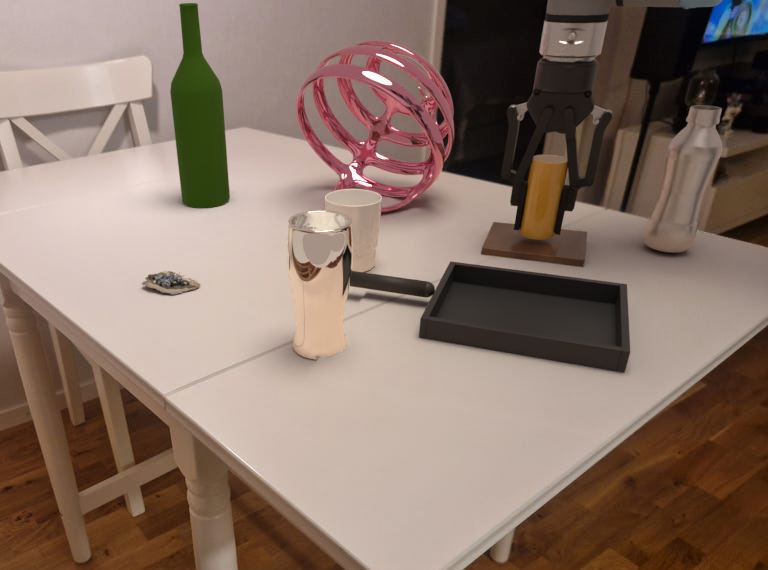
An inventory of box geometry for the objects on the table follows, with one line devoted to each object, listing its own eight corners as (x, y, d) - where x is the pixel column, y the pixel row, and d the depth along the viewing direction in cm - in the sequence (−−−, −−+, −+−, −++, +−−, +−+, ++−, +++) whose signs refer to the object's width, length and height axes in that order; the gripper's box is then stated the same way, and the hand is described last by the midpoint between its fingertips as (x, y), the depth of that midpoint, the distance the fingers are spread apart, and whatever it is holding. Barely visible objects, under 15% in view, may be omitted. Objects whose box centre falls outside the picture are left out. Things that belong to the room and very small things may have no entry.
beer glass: (301, 328, 79) (300, 206, 71) (357, 337, 77) (362, 212, 69) (280, 356, 74) (275, 227, 66) (339, 367, 71) (342, 235, 64)
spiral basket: (345, 115, 91) (436, -18, 97) (231, 135, 112) (312, 25, 119) (436, 247, 107) (508, 126, 114) (321, 243, 129) (388, 141, 135)
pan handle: (435, 294, 83) (437, 280, 82) (432, 301, 81) (433, 286, 80) (345, 281, 87) (345, 267, 86) (340, 287, 85) (340, 273, 84)
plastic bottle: (653, 238, 101) (691, 101, 91) (698, 250, 97) (744, 107, 87) (631, 248, 98) (668, 107, 88) (677, 261, 94) (722, 114, 83)
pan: (621, 305, 82) (627, 283, 81) (623, 376, 68) (630, 351, 67) (447, 281, 90) (450, 261, 88) (418, 341, 76) (420, 318, 74)
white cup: (348, 280, 91) (350, 209, 85) (313, 263, 96) (313, 196, 91) (390, 266, 95) (394, 198, 89) (353, 250, 100) (356, 185, 95)
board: (585, 240, 101) (587, 231, 100) (582, 270, 92) (584, 260, 91) (492, 230, 106) (493, 221, 105) (480, 257, 97) (481, 247, 96)
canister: (555, 230, 99) (570, 156, 93) (553, 241, 95) (568, 164, 89) (520, 226, 101) (533, 153, 95) (517, 237, 97) (529, 161, 91)
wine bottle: (238, 196, 125) (226, 1, 108) (212, 210, 118) (195, 5, 101) (199, 191, 128) (182, 1, 111) (172, 204, 121) (149, 5, 105)
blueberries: (153, 273, 94) (151, 261, 93) (207, 276, 93) (206, 263, 92) (136, 293, 88) (134, 280, 88) (193, 296, 87) (192, 283, 86)
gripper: (493, 59, 85) (471, 230, 98) (646, 63, 79) (603, 245, 91) (500, 52, 91) (479, 214, 103) (644, 56, 85) (603, 228, 97)
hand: (537, 228), depth 97 cm, fingers closed on canister, 5 cm apart
